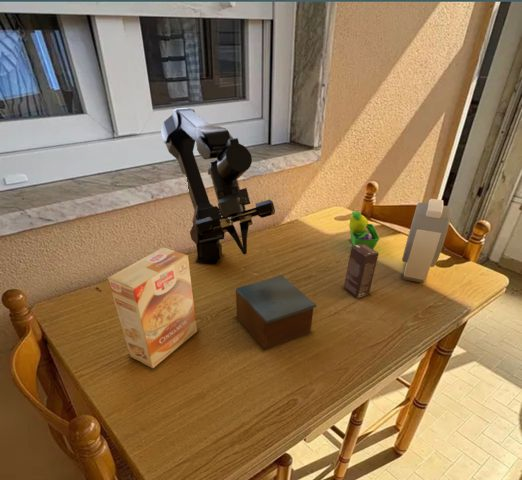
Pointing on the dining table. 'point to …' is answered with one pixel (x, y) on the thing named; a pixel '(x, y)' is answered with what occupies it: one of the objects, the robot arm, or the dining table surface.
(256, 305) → the lid
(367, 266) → the box
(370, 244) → the fruit basket
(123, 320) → the coffeecake box
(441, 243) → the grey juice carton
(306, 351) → the dining table surface
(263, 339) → the chest
